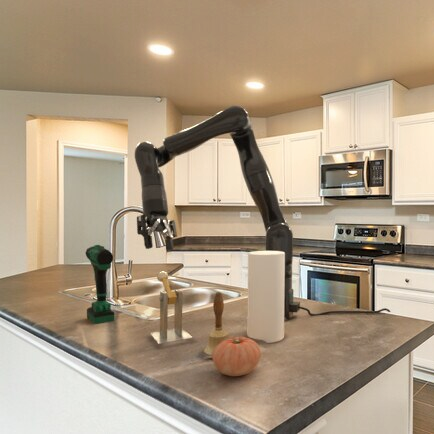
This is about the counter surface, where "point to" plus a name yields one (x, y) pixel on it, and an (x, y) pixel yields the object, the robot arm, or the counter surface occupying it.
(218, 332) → the hand bell
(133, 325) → the counter surface
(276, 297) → the tall pillar cylinder
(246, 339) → the pumpkin
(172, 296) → the lever
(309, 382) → the counter surface
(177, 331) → the bracket
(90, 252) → the power drill
